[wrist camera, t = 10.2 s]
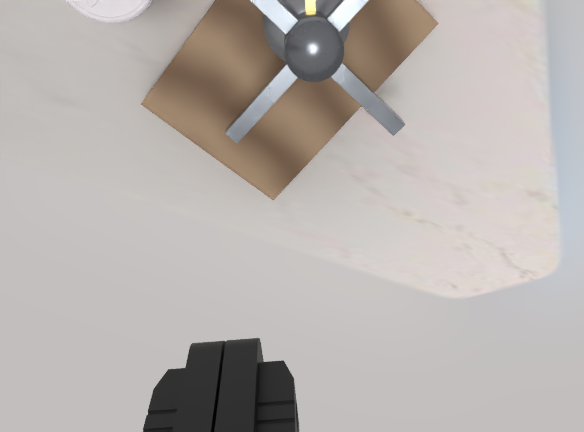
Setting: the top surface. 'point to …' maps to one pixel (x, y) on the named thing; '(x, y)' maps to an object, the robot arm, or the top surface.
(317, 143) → the board
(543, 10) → the top surface
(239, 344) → the robot arm
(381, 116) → the capstan
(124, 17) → the smoothie
